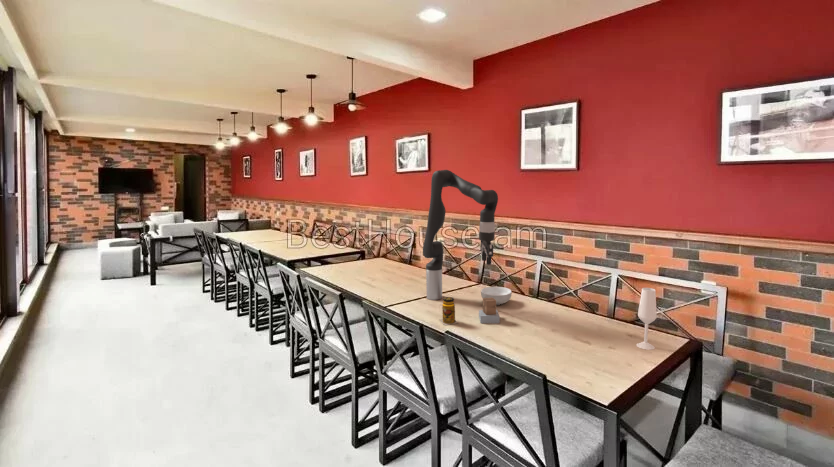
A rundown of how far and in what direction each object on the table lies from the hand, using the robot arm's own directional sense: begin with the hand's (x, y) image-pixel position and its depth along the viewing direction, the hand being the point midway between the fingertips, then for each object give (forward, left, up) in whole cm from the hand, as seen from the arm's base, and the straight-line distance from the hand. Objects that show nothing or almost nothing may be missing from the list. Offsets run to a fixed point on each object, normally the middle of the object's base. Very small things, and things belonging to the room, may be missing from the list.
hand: (486, 262), depth 209 cm
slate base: (+7, -1, -28) cm, 29 cm away
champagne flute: (+49, +52, -28) cm, 77 cm away
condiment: (+5, -21, -28) cm, 35 cm away
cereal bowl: (-19, +11, -28) cm, 35 cm away
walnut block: (+8, -1, -24) cm, 25 cm away
